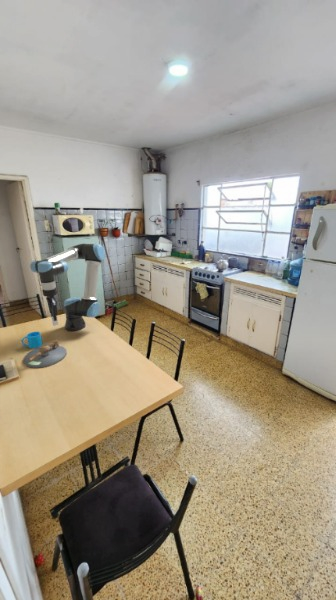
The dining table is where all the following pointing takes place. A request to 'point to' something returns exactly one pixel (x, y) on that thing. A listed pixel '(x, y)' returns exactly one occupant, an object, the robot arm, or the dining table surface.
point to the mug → (33, 340)
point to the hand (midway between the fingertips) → (55, 324)
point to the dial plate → (44, 357)
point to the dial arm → (47, 348)
